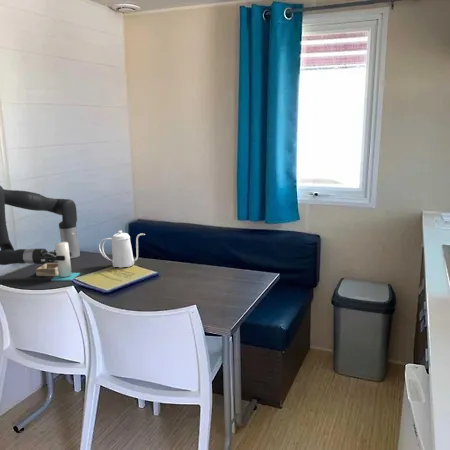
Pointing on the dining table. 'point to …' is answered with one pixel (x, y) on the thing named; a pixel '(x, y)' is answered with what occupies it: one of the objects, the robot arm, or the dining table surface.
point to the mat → (65, 277)
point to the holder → (48, 270)
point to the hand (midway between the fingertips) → (67, 256)
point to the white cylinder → (65, 265)
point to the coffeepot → (121, 250)
